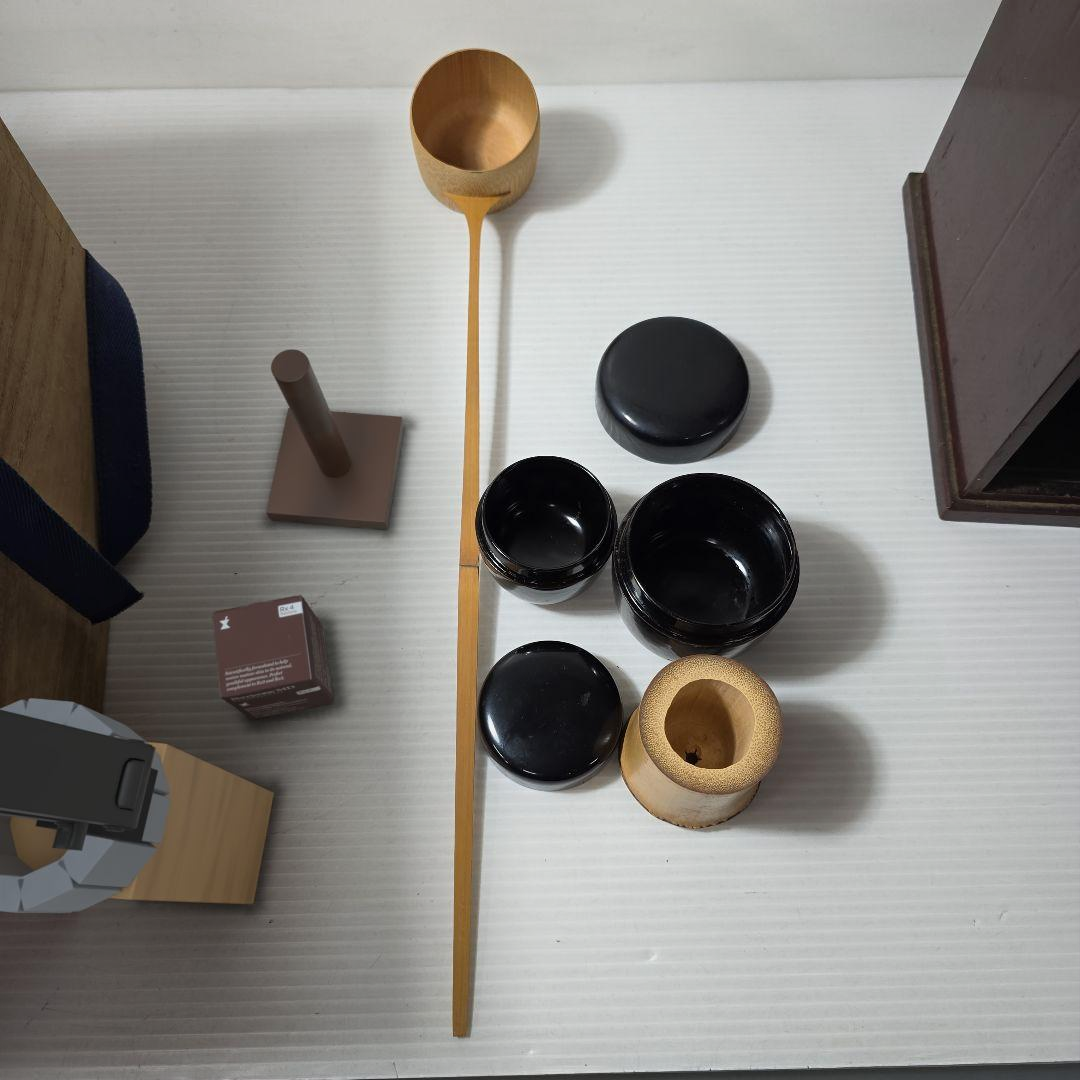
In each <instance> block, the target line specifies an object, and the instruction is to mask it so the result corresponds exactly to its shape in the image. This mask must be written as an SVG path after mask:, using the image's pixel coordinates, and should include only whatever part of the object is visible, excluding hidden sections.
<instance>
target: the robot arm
mask: <svg viewBox="0 0 1080 1080" xmlns="http://www.w3.org/2000/svg"><path fill="white" fill-rule="evenodd" d="M145 741H146V740H145ZM145 741H142V740H137V739H128V740H125V739H120V738H116V737H112V736H108V735H104V734H100V733H95V732H91V731H87V730H83V729H79V728H75V727H71V726H66V725H62V724H58V723H54V722H50V721H46V720H42V719H37V718H33V717H29V716H25V715H21V714H17V713H12V712H8V711H4V710H0V815H3V816H11V817H18V818H26V819H34V820H37V822H36V826H37V827H42V828H48V829H54V830H57V832H56V835H55V839H54V843H53V847H52V848H57V849H66V850H77V851H82V849H83V845H84V841H85V837H86V835H87V836H93V837H99V838H104V839H110V840H116V841H121V842H131V843H142V838H143V834H144V830H145V825H146V821H147V817H148V812H149V808H150V804H151V799H152V795H153V791H154V787H155V782H156V778H157V774H158V770H155V769H153V768H151V766H152V761H153V757H154V753H155V749H156V748H155V747H153V746H152V745H150V744H145Z"/></svg>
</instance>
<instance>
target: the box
mask: <svg viewBox="0 0 1080 1080" xmlns="http://www.w3.org/2000/svg"><path fill="white" fill-rule="evenodd" d="M211 618H212V627H213V636H214V637H213V638H214V646H215V647H214V648H215V658H216V667H217V676H218V677H217V678H218V686H219V687H218V688H219V697H220V699H222V700H224V701H225V702H226V703H228V704H229V705H231V706H232V707H233V708H235V709H236V710H237V711H239V712H240V713H242V714H243V715H245V716H246V717H247V718H248V719H250V720H259V719H266V718H269V717H270V718H271V717H274V716H280V715H281V716H282V715H285V714H291V713H296V712H300V711H304V710H308V709H314V708H318V707H322V706H327V705H331V704H333V703H334V693H333V685H332V681H331V680H332V679H331V673H330V666H329V660H328V653H327V645H326V637H325V632H324V631H325V630H324V627H323V626H324V625H323V624H322V622H321V620H320V619H319V618H318V617H317V615H316V614H315V613H314V611H313V610H312V608H311V607H310V605H309V603H308V601H306V600H305V597H304V596H303V595H302V594H295V595H290V596H285V597H281V598H275V599H271V600H266V601H265V600H264V601H255V602H252V603H248V604H245V605H241V606H236V607H230V608H225V609H220V610H215V611H214V612H212V613H211Z"/></svg>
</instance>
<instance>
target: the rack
mask: <svg viewBox="0 0 1080 1080" xmlns="http://www.w3.org/2000/svg"><path fill="white" fill-rule="evenodd" d="M270 372H271V374H272V376H273V378H274V380H275V382H276V384H277V386H278V388H279V390H280V392H281V394H282V395H283V397H284V399H285V402H286V404H287V405H288V408H287V411H286V417H285V422H284V425H283V426H284V427H283V432H282V436H281V441H280V444H279V445H280V446H279V451H278V454H277V459H276V465H275V469H274V474H273V479H272V484H271V488H270V492H269V498H268V502H267V507H266V511H265V513H266V514H267V516H268V518H269V519H270V520H271V521H272V522H273V521H274V522H288V523H299V524H310V525H322V526H323V525H324V526H336V527H349V528H360V529H371V530H373V529H374V530H385V531H388V530H389V526H390V525H389V524H390V519H391V512H392V508H393V507H392V506H393V500H394V493H395V489H396V488H395V487H396V481H397V474H398V468H399V462H400V457H401V450H402V444H403V436H404V431H405V423H404V419H403V417H402V416H399V415H398V416H397V415H386V414H371V413H359V412H358V413H357V412H348V411H347V412H345V411H333V410H330V407H329V405H328V403H327V400H326V397H325V395H324V393H323V390H322V388H321V385H320V383H319V381H318V379H317V376H316V374H315V371H314V369H313V367H312V364H311V362H310V360H309V357H308V356H307V355H306V354H305V353H304V352H303V351H300V350H299V349H293V348H291V349H290V348H289V349H285V350H283V351H280V352H279V353H277V354H276V356H275V357H273V359H272V361H271V365H270Z"/></svg>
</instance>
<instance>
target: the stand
mask: <svg viewBox="0 0 1080 1080" xmlns="http://www.w3.org/2000/svg"><path fill="white" fill-rule="evenodd" d="M146 742H147V743H149V744H150V745H152V746H153V747H155V748H156V749H155V752H156V753H158V754H159V756H160V760H161V763H162V766H163V769H164V772H165V776H166V779H167V782H168V785H169V788H170V792H171V793H170V794H168V795H165V797H168V798H170V799H171V801H170V806H169V810H168V814H167V819H166V823H165V828H164V832H163V837H162V841H161V844H156V843H151V844H153V845H154V846H155V847H156V848H157V849H158V850H157V851H156V853H155V854H154V855H153V856H152V857H151V859H150V860H149V861H148V862H147V864H146V865H145V866H144V867H143V869H142V870H141V871H140V872H139V874H138V875H137V876H136V877H135V878H134V880H133V881H132V882H131V883H130V885H129V886H128V887H121V889H122V892H120V893H118V894H116V895H114V896H112V897H110V898H109V899H119V900H129V901H149V902H150V901H152V902H153V901H154V902H180V903H204V904H205V903H206V904H209V903H210V904H233V905H235V904H236V905H254V902H255V897H256V893H257V887H258V882H259V877H260V871H261V865H262V860H263V856H264V855H263V854H264V849H265V843H266V838H267V834H268V833H267V832H268V827H269V824H270V823H269V822H270V817H271V811H272V806H273V800H274V795H275V793H274V791H271V790H270V789H266V788H264V787H262V786H260V785H258V784H256V783H254V782H252V781H250V780H247V779H245V778H242V777H241V776H238V775H237V774H234V773H233V772H229V771H228V770H225V769H223V768H221V767H219V766H216V765H214V764H212V763H209V762H208V761H205V760H204V759H201V758H199V757H196V756H194V755H192V754H190V753H188V752H186V751H183V750H181V749H179V748H177V747H174V746H172V745H170V744H168V743H161V742H153V741H152V742H151V741H146ZM36 822H37V820H34V819H26V818H18V817H11V820H10V823H9V825H10V829H11V833H12V837H13V841H14V845H15V849H16V853H17V857H18V858H19V859H21V860H22V861H23V862H24V863H25V864H26V865H28V866H29V867H30V868H31V869H32V870H33V871H35V870H38V869H40V868H42V867H44V866H47V865H49V864H51V863H53V862H55V861H58V860H60V859H61V858H62V856H63V855H64V854H65V853H66V852H67V850H66V849H57V848H52V847H53V843H54V839H55V835H56V832H57V830H54V829H48V828H42V827H37V826H36Z"/></svg>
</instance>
